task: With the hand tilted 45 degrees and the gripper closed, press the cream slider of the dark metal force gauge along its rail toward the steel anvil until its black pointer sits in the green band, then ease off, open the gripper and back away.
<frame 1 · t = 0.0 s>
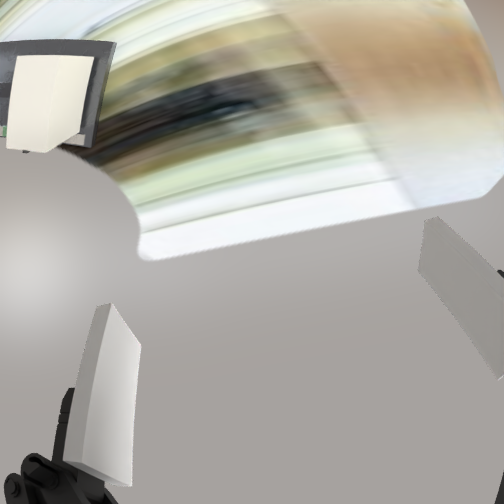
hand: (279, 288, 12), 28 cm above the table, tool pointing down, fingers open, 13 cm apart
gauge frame: (30, 88, 26), on the table
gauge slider: (49, 105, 23), point 7 cm above the table, slide at 0.0 cm
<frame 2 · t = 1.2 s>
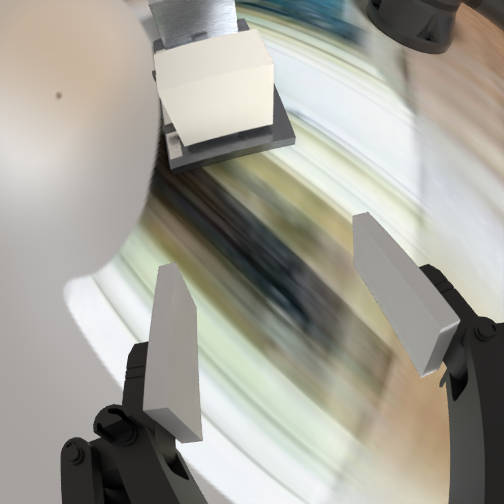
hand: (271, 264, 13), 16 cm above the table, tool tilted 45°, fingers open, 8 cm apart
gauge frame: (214, 84, 33), on the table
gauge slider: (207, 91, 25), point 7 cm above the table, slide at 0.0 cm
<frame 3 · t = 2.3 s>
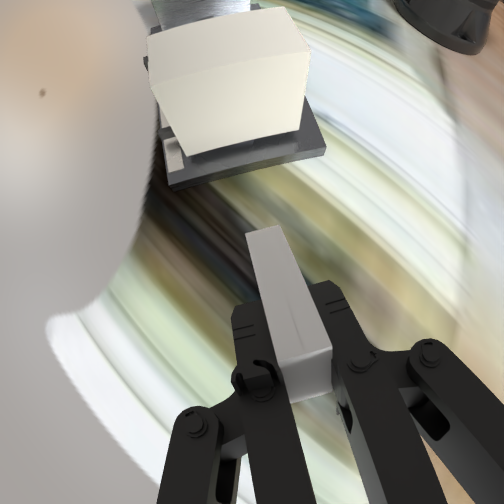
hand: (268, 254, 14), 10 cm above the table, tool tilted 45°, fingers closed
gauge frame: (222, 78, 27), on the table
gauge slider: (217, 86, 19), point 7 cm above the table, slide at 0.0 cm
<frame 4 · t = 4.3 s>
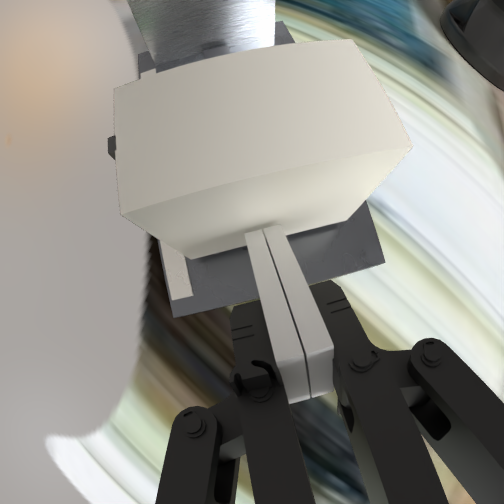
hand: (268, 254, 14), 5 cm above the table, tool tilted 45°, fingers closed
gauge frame: (239, 138, 21), on the table
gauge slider: (236, 168, 13), point 7 cm above the table, slide at 1.4 cm, touching gripper
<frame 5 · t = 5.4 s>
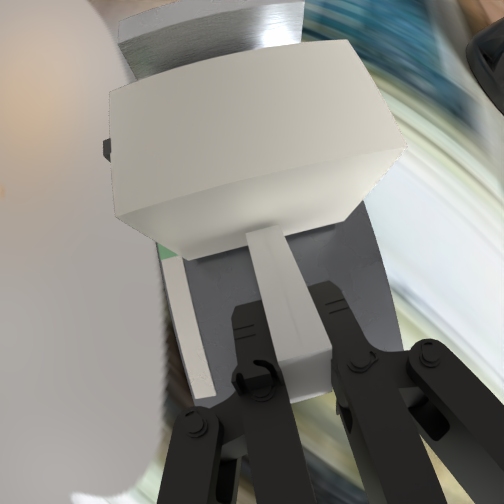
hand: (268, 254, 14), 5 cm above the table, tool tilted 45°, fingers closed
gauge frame: (258, 217, 20), on the table
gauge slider: (232, 170, 13), point 7 cm above the table, slide at 7.4 cm, touching gripper
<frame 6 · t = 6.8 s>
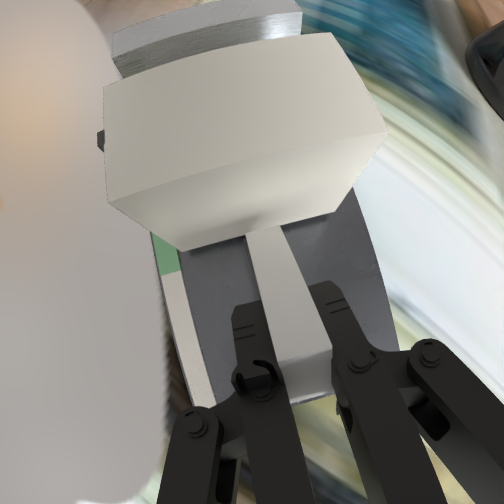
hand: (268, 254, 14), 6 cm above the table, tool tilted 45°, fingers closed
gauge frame: (257, 230, 20), on the table
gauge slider: (222, 161, 13), point 7 cm above the table, slide at 8.9 cm
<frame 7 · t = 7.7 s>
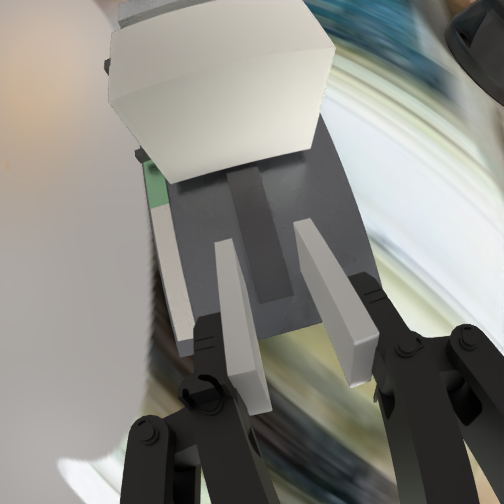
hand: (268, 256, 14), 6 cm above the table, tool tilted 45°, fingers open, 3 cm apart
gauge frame: (241, 172, 21), on the table
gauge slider: (206, 94, 14), point 7 cm above the table, slide at 8.9 cm
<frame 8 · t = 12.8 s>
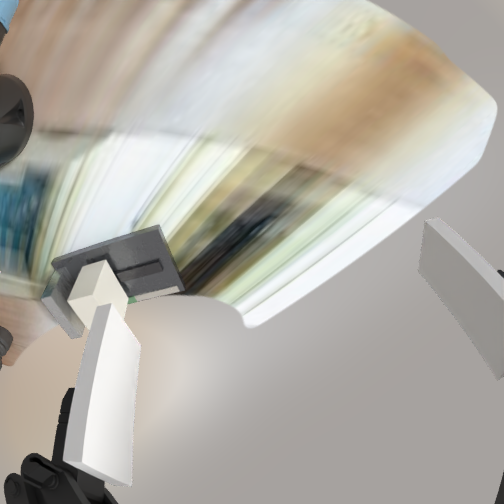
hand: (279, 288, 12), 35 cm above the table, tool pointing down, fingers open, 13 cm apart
candle holder: (3, 333, 56), on the table
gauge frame: (117, 271, 51), on the table
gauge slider: (102, 303, 46), point 7 cm above the table, slide at 8.9 cm
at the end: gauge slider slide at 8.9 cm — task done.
